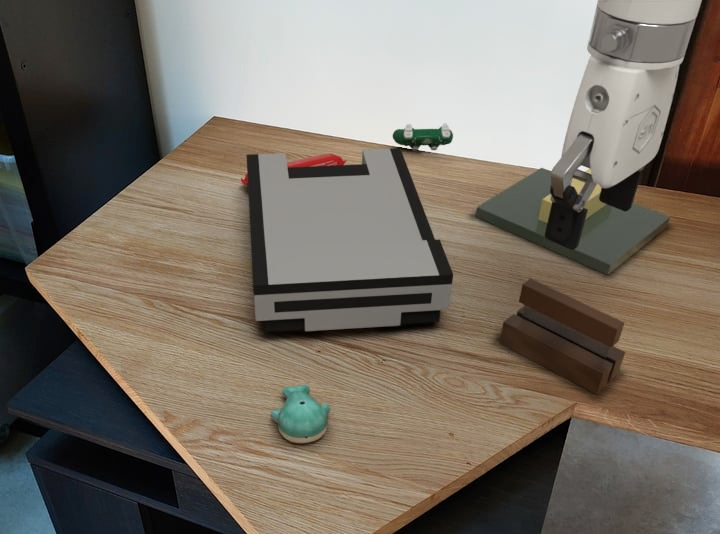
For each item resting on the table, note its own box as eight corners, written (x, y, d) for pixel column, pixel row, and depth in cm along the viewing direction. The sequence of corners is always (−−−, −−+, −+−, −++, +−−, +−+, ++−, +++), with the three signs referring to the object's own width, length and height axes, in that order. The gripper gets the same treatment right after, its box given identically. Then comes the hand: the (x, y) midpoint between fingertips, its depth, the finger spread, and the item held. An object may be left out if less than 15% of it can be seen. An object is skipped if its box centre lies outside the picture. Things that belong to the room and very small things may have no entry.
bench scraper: (606, 378, 82) (625, 322, 77) (599, 385, 81) (617, 329, 76) (518, 332, 87) (530, 277, 82) (510, 338, 86) (522, 283, 81)
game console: (397, 194, 110) (401, 139, 104) (445, 336, 86) (453, 274, 81) (249, 201, 108) (245, 145, 103) (257, 347, 85) (253, 285, 79)
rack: (618, 373, 82) (625, 351, 80) (596, 395, 80) (603, 373, 78) (522, 324, 88) (526, 303, 86) (498, 343, 86) (503, 321, 84)
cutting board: (667, 226, 104) (670, 216, 103) (607, 275, 96) (610, 265, 95) (539, 176, 114) (541, 167, 113) (475, 216, 106) (476, 206, 105)
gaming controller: (392, 156, 123) (397, 143, 117) (391, 132, 123) (396, 118, 117) (450, 155, 123) (458, 142, 117) (449, 131, 123) (457, 117, 117)
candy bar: (349, 155, 112) (349, 175, 114) (338, 145, 115) (337, 164, 117) (247, 179, 107) (248, 199, 109) (236, 168, 109) (238, 187, 111)
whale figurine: (274, 451, 73) (273, 423, 71) (267, 398, 79) (266, 370, 76) (335, 445, 74) (336, 416, 72) (325, 393, 79) (324, 365, 77)
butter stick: (614, 199, 107) (619, 178, 105) (580, 223, 102) (585, 202, 100) (585, 187, 109) (590, 168, 107) (550, 211, 104) (554, 190, 102)
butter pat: (576, 226, 101) (581, 205, 99) (567, 232, 100) (572, 211, 98) (546, 213, 103) (550, 193, 101) (538, 219, 102) (542, 199, 100)
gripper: (629, 75, 55) (575, 276, 67) (730, 22, 65) (667, 206, 76) (539, 48, 59) (502, 243, 71) (647, 1, 68) (599, 179, 80)
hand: (588, 223), depth 73 cm, fingers open, 9 cm apart
